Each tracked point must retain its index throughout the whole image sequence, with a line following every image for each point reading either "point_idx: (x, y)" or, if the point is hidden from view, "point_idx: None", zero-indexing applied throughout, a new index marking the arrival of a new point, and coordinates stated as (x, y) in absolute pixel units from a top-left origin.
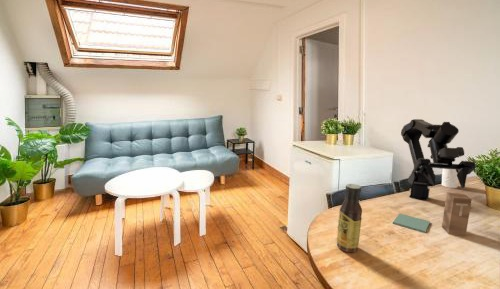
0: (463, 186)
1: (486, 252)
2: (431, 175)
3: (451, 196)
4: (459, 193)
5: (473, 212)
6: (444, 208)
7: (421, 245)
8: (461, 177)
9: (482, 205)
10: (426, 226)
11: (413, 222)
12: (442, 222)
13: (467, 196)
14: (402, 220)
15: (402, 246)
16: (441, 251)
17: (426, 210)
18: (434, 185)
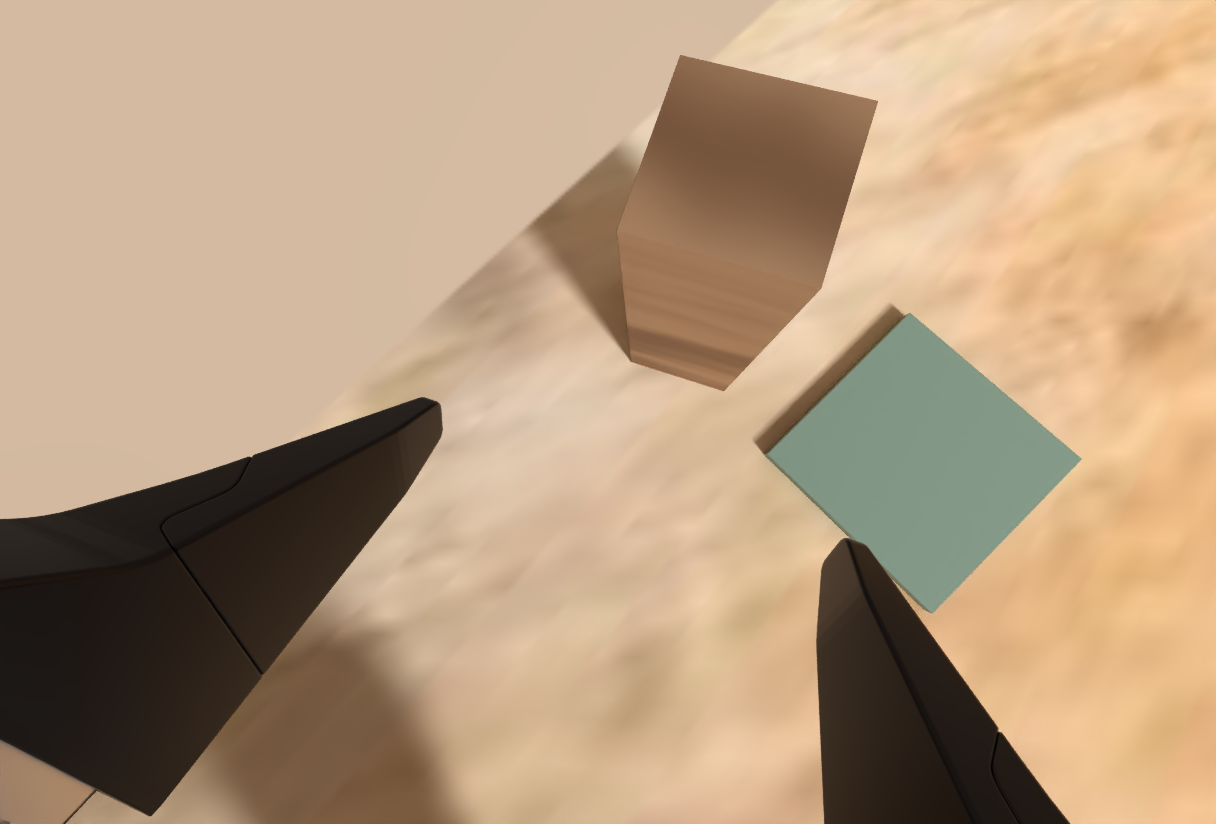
0: (435, 404)
1: None
2: (979, 729)
3: (856, 163)
4: (674, 235)
5: None
6: (757, 355)
7: (1027, 180)
8: (281, 538)
9: None
10: (853, 377)
11: (913, 441)
12: (729, 383)
13: (664, 127)
14: (984, 479)
15: (1159, 171)
16: (946, 123)
17: (628, 673)
18: (836, 553)
